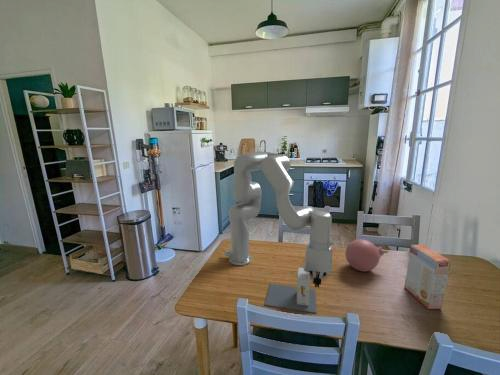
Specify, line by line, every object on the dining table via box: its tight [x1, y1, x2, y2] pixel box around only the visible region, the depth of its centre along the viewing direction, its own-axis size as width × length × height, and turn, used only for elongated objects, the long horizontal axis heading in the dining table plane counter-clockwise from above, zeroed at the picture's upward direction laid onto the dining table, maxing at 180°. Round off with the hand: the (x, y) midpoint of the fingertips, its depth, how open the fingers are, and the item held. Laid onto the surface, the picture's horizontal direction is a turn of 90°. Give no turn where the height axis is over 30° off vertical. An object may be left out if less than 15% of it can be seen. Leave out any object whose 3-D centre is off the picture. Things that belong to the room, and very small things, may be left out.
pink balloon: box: [345, 238, 388, 272], centre depth 120 cm, size 15×20×15 cm
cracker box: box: [404, 244, 452, 310], centre depth 98 cm, size 14×6×21 cm, turn 2°
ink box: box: [296, 267, 311, 306], centre depth 98 cm, size 9×5×12 cm, turn 167°
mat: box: [264, 283, 317, 314], centre depth 101 cm, size 20×14×1 cm
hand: (316, 285), depth 97 cm, fingers closed
